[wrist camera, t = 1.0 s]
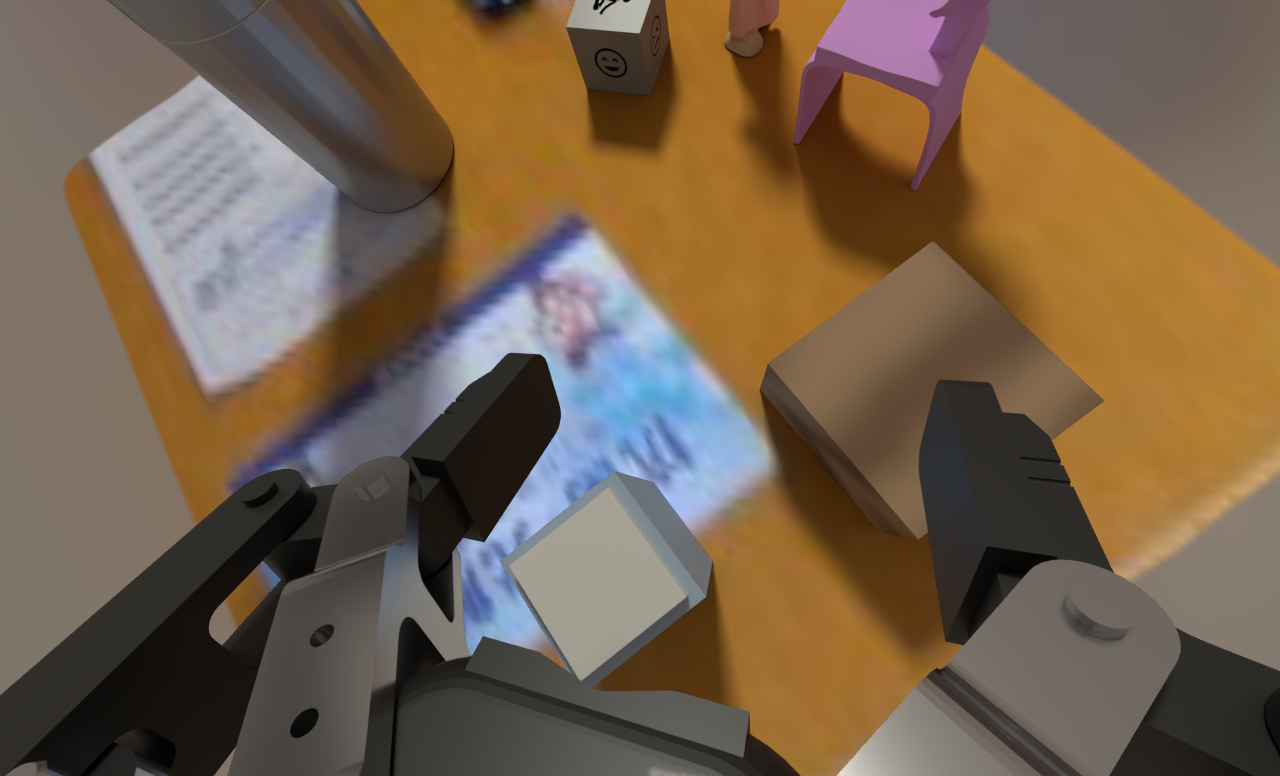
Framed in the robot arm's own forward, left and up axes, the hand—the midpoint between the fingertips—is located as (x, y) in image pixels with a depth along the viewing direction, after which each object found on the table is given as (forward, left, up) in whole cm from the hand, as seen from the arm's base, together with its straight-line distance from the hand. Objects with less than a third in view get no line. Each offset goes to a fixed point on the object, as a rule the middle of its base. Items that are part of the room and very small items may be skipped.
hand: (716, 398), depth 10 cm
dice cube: (-27, +13, -19) cm, 36 cm away
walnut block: (+3, +10, -19) cm, 22 cm away
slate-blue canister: (+1, -6, -19) cm, 20 cm away
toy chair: (-11, +21, -19) cm, 31 cm away
